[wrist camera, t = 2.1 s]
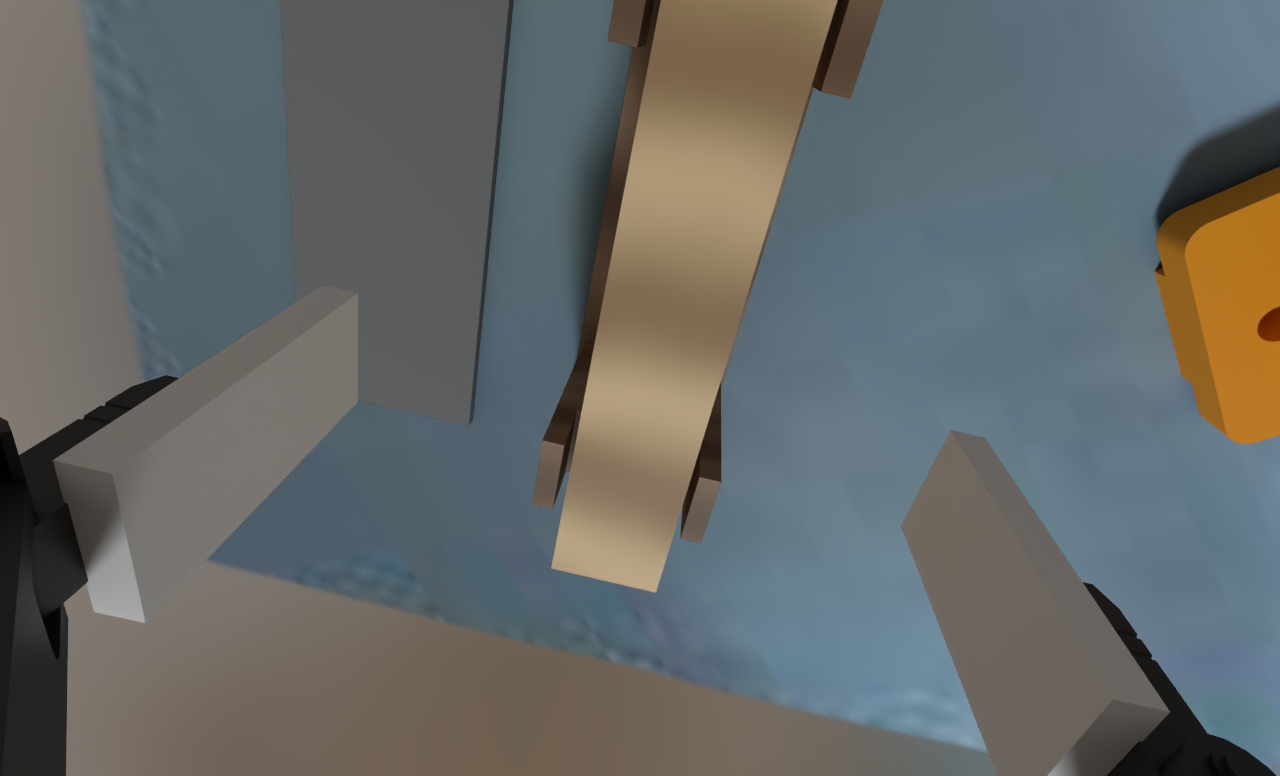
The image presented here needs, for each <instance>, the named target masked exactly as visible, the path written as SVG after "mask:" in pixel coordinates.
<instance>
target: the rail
mask: <svg viewBox="0 0 1280 776" xmlns="http://www.w3.org/2000/svg"><path fill="white" fill-rule="evenodd" d="M837 1H838V0H661V2H660V7H659V12H658V17H657V23H656V28H655V33H654V38H653V43H652V49H651V54H650V59H649V64H648V69H647V75H646V80H645V85H644V90H643V95H642V100H641V106H640V111H639V116H638V121H637V126H636V132H635V137H634V142H633V147H632V152H631V158H630V163H629V168H628V173H627V178H626V184H625V189H624V194H623V199H622V204H621V209H620V215H619V220H618V225H617V230H616V235H615V241H614V246H613V251H612V256H611V261H610V267H609V272H608V277H607V282H606V287H605V293H604V298H603V303H602V308H601V313H600V318H599V324H598V329H597V334H596V339H595V344H594V350H593V355H592V360H591V365H590V370H589V376H588V381H587V386H586V391H585V396H584V402H583V407H582V412H581V417H580V422H579V427H578V433H577V438H576V443H575V448H574V453H573V459H572V464H571V469H570V474H569V479H568V485H567V490H566V495H565V500H564V505H563V511H562V516H561V521H560V526H559V531H558V536H557V542H556V547H555V552H554V557H553V562H552V569H556V570H561V571H565V572H569V573H574V574H578V575H582V576H587V577H591V578H595V579H600V580H604V581H608V582H613V583H617V584H621V585H626V586H630V587H634V588H639V589H643V590H647V591H651V592H656V591H657V587H658V584H659V581H660V578H661V574H662V571H663V568H664V564H665V561H666V558H667V555H668V551H669V548H670V545H671V542H672V538H673V535H674V532H675V529H676V525H677V522H678V519H679V516H680V512H681V509H682V506H683V503H684V499H685V496H686V493H687V490H688V486H689V483H690V480H691V476H692V473H693V470H694V467H695V463H696V460H697V457H698V454H699V450H700V447H701V444H702V441H703V437H704V434H705V431H706V428H707V424H708V421H709V418H710V415H711V411H712V408H713V405H714V401H715V398H716V395H717V392H718V388H719V385H720V382H721V379H722V375H723V372H724V369H725V366H726V362H727V359H728V356H729V353H730V349H731V346H732V343H733V340H734V336H735V333H736V330H737V327H738V323H739V320H740V317H741V313H742V310H743V307H744V304H745V300H746V297H747V294H748V291H749V287H750V284H751V281H752V278H753V274H754V271H755V268H756V265H757V261H758V258H759V255H760V252H761V248H762V245H763V242H764V238H765V235H766V232H767V229H768V225H769V222H770V219H771V216H772V212H773V209H774V206H775V203H776V199H777V196H778V193H779V190H780V186H781V183H782V180H783V177H784V173H785V170H786V167H787V164H788V160H789V157H790V154H791V150H792V147H793V144H794V141H795V137H796V134H797V131H798V128H799V124H800V121H801V118H802V115H803V111H804V108H805V105H806V102H807V98H808V95H809V92H810V89H811V85H812V82H813V79H814V75H815V72H816V69H817V66H818V62H819V59H820V56H821V53H822V49H823V46H824V43H825V40H826V36H827V33H828V30H829V27H830V23H831V20H832V17H833V14H834V10H835V7H836V4H837Z"/></svg>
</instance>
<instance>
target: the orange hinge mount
mask: <svg viewBox="0 0 1280 776" xmlns="http://www.w3.org/2000/svg"><path fill="white" fill-rule="evenodd" d="M1157 246H1158V250H1159V254H1160V258H1161V262H1162V266H1163V268H1161V269H1159V270H1156V271H1155V274H1156V278H1157V282H1158V286H1159V290H1160V294H1161V298H1162V302H1163V305H1164V309H1165V313H1166V317H1167V321H1168V325H1169V329H1170V333H1171V337H1172V340H1173V344H1174V348H1175V352H1176V356H1177V360H1178V364H1179V368H1180V372H1181V375H1182V376H1183V377H1184V378H1185V379H1187V380H1188V381H1189V382H1191V383H1192V385H1193V389H1194V393H1195V397H1196V401H1197V405H1198V409H1199V412H1200V414H1201V416H1202V417H1204V418H1205V419H1206V420H1207V421H1209V422H1210V423H1211V424H1212V425H1214V426H1215V427H1216V428H1217V429H1219V430H1220V431H1221V432H1222V433H1223V434H1225V435H1226V436H1227V437H1228V438H1230V439H1231V440H1232V441H1234V442H1237V443H1241V444H1250V443H1255V442H1259V441H1262V440H1265V439H1268V438H1271V437H1274V436H1277V435H1280V167H1277V168H1275V169H1273V170H1270V171H1268V172H1266V173H1264V174H1261V175H1259V176H1257V177H1254V178H1252V179H1250V180H1247V181H1245V182H1243V183H1241V184H1238V185H1236V186H1234V187H1231V188H1229V189H1227V190H1224V191H1222V192H1220V193H1218V194H1215V195H1213V196H1211V197H1208V198H1206V199H1204V200H1201V201H1199V202H1197V203H1195V204H1192V205H1190V206H1188V207H1185V208H1183V209H1181V210H1179V211H1177V212H1175V213H1173V214H1172V215H1171V216H1169V217H1168V218H1167V219H1166V220H1165V221H1164V223H1163V224H1162V225H1161V227H1160V229H1159V231H1158V234H1157Z"/></svg>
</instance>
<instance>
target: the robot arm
mask: <svg viewBox="0 0 1280 776" xmlns="http://www.w3.org/2000/svg"><path fill="white" fill-rule="evenodd" d="M357 402H358V293H355V292H350V291H346V290H342V289H337V288H333V287H329V286H324V285H322V286H321V287H319V288H318V289H316V290H315V291H313V292H311V293H310V294H308V295H307V296H305V297H304V298H302V299H301V300H299V301H298V302H296V303H295V304H293V305H291V306H290V307H288V308H287V309H285V310H284V311H282V312H281V313H279V314H278V315H276V316H274V317H273V318H271V319H270V320H268V321H267V322H265V323H264V324H262V325H261V326H259V327H258V328H256V329H254V330H253V331H251V332H250V333H248V334H247V335H245V336H244V337H242V338H241V339H239V340H237V341H236V342H234V343H233V344H231V345H230V346H228V347H227V348H225V349H224V350H222V351H221V352H219V353H217V354H216V355H214V356H213V357H211V358H210V359H208V360H207V361H205V362H204V363H202V364H201V365H199V366H197V367H196V368H194V369H193V370H191V371H190V372H188V373H187V374H185V375H184V376H182V377H180V378H176V377H171V376H167V375H166V376H163V377H160V378H157V379H153V380H150V381H147V382H144V383H141V384H138V385H135V386H132V387H130V388H129V389H127V390H126V391H124V392H122V393H121V394H119V395H117V396H116V397H114V398H112V399H111V400H109V401H107V402H106V404H105V406H99V407H98V408H96V409H94V410H93V411H91V412H89V413H88V414H86V415H84V419H83V420H81V419H78V420H76V421H75V422H73V423H72V424H70V425H68V426H66V427H65V428H63V429H61V430H60V431H58V432H57V433H55V434H53V435H52V436H50V437H48V438H47V439H45V440H43V441H42V442H40V443H38V444H37V445H35V446H34V447H32V448H30V449H29V450H27V451H25V452H24V453H22V454H20V455H18V451H17V448H16V445H15V441H14V438H13V435H12V431H11V429H10V426H9V424H8V421H6V420H4V419H2V418H0V776H66V730H67V728H66V727H67V725H66V724H67V723H66V722H67V659H68V655H67V654H68V617H67V614H66V610H65V607H64V604H63V603H64V602H65V601H66V600H67V599H68V598H70V597H71V596H72V595H73V594H74V593H75V592H77V591H78V590H79V589H80V588H81V587H82V586H83V585H84V584H85V583H86V584H87V588H88V591H89V595H90V599H91V602H92V606H93V610H94V612H98V613H102V614H106V615H111V616H115V617H120V618H124V619H129V620H133V621H138V622H142V623H146V622H147V621H148V620H149V619H150V618H151V617H152V616H153V615H154V614H155V613H156V612H157V611H158V610H159V609H160V608H161V607H162V606H163V605H164V603H166V602H167V600H168V599H169V598H170V597H171V596H172V595H173V594H174V593H175V592H176V591H177V590H178V589H179V588H180V587H181V586H182V585H183V584H184V583H185V582H186V581H187V580H188V579H189V577H191V575H192V574H193V573H194V572H195V571H196V570H197V569H198V568H199V567H200V566H201V565H202V564H203V563H204V562H205V561H206V560H207V559H208V558H209V557H210V556H211V555H212V554H213V553H214V551H215V550H216V549H217V548H218V547H219V546H220V545H221V544H222V543H223V542H224V541H225V540H226V539H227V538H228V537H229V536H230V535H231V534H232V533H233V532H234V531H235V530H236V529H237V527H238V526H239V525H240V524H241V523H242V522H243V521H244V520H245V519H246V518H247V517H248V516H249V515H250V514H251V513H252V512H253V511H254V510H255V509H256V508H257V507H258V506H259V505H260V503H261V502H262V501H263V500H264V499H265V498H266V497H267V496H268V495H269V494H270V493H271V492H272V491H273V490H274V489H275V488H276V487H277V486H278V485H279V484H280V483H281V482H282V481H283V479H284V478H285V477H286V476H287V475H288V474H289V473H290V472H291V471H292V470H293V469H294V468H295V467H296V466H297V465H298V464H299V463H300V462H301V461H302V460H303V459H304V458H305V457H306V455H307V454H308V453H309V452H310V451H311V450H312V449H313V448H314V447H315V446H316V445H317V444H318V443H319V442H320V441H321V440H322V439H323V438H324V437H325V436H326V435H327V434H328V433H329V431H330V430H331V429H332V428H333V427H334V426H335V425H336V424H337V423H338V422H339V421H340V420H341V419H342V418H343V417H344V416H345V415H346V414H347V413H348V412H349V411H350V410H351V409H352V407H353V406H354V405H355V404H356V403H357ZM901 527H902V530H903V532H904V535H905V537H906V540H907V543H908V545H909V548H910V550H911V553H912V556H913V558H914V561H915V563H916V566H917V569H918V571H919V574H920V576H921V579H922V582H923V584H924V587H925V589H926V592H927V595H928V597H929V600H930V602H931V605H932V608H933V610H934V613H935V615H936V618H937V620H938V623H939V626H940V628H941V631H942V633H943V636H944V639H945V641H946V644H947V646H948V649H949V652H950V654H951V657H952V659H953V662H954V665H955V667H956V670H957V672H958V675H959V678H960V680H961V683H962V685H963V688H964V691H965V693H966V696H967V698H968V701H969V704H970V706H971V709H972V711H973V714H974V717H975V719H976V722H977V724H978V727H979V729H980V732H981V735H982V737H983V740H984V742H985V745H986V748H987V750H988V753H989V755H990V758H991V761H992V763H993V766H994V768H995V770H996V773H997V776H1276V775H1275V774H1274V773H1273V772H1272V771H1271V770H1270V769H1269V768H1268V767H1267V766H1266V765H1264V764H1263V763H1262V762H1260V761H1259V760H1258V759H1256V758H1255V757H1254V756H1252V755H1251V754H1250V753H1248V752H1247V751H1246V750H1244V749H1242V748H1240V747H1238V746H1236V745H1235V744H1233V743H1231V742H1229V741H1227V740H1225V739H1223V738H1220V737H1216V736H1213V735H1210V734H1207V732H1206V731H1205V729H1204V728H1203V726H1202V725H1201V724H1200V722H1199V721H1198V719H1197V718H1196V717H1195V715H1194V714H1193V712H1192V711H1191V710H1190V708H1189V707H1188V705H1187V704H1186V703H1185V701H1184V700H1183V698H1182V697H1181V695H1180V694H1179V693H1178V691H1177V690H1176V688H1175V687H1174V686H1173V684H1172V683H1171V681H1170V680H1169V679H1168V677H1167V676H1166V674H1165V673H1164V671H1163V670H1162V669H1161V667H1160V666H1159V664H1158V663H1157V662H1156V661H1155V660H1152V659H1151V657H1152V655H1151V653H1150V652H1149V650H1148V649H1147V647H1146V646H1145V645H1144V643H1143V642H1142V640H1141V639H1137V633H1136V632H1135V631H1134V629H1133V628H1132V626H1131V625H1130V623H1129V622H1128V621H1127V619H1126V618H1125V616H1124V615H1123V614H1122V612H1121V611H1120V609H1119V608H1118V607H1117V606H1115V605H1114V604H1113V603H1112V602H1111V601H1110V600H1109V599H1108V598H1107V597H1106V596H1105V595H1103V594H1102V593H1101V592H1100V591H1099V590H1098V589H1097V588H1096V587H1095V586H1094V585H1093V584H1088V583H1084V582H1082V581H1081V579H1080V578H1079V576H1078V575H1077V573H1076V572H1075V570H1074V569H1073V567H1072V566H1071V564H1070V563H1069V562H1068V560H1067V559H1066V557H1065V556H1064V554H1063V553H1062V551H1061V550H1060V548H1059V547H1058V545H1057V544H1056V542H1055V541H1054V539H1053V538H1052V536H1051V535H1050V533H1049V532H1048V530H1047V529H1046V528H1045V526H1044V525H1043V523H1042V522H1041V520H1040V519H1039V517H1038V516H1037V514H1036V513H1035V511H1034V510H1033V508H1032V507H1031V505H1030V504H1029V502H1028V501H1027V499H1026V498H1025V496H1024V495H1023V494H1022V492H1021V491H1020V489H1019V488H1018V486H1017V485H1016V483H1015V482H1014V480H1013V479H1012V477H1011V476H1010V474H1009V473H1008V471H1007V470H1006V468H1005V467H1004V465H1003V464H1002V462H1001V461H1000V459H999V458H998V457H997V455H996V454H995V452H994V451H993V449H992V448H991V446H990V445H989V443H988V442H987V440H986V439H985V438H983V437H979V436H974V435H970V434H966V433H961V432H957V431H953V430H951V431H950V433H949V435H948V436H947V438H946V440H945V442H944V444H943V446H942V448H941V450H940V452H939V454H938V456H937V458H936V460H935V462H934V463H933V465H932V467H931V469H930V471H929V473H928V475H927V477H926V479H925V481H924V483H923V485H922V487H921V488H920V490H919V492H918V494H917V496H916V498H915V500H914V502H913V504H912V506H911V508H910V510H909V512H908V514H907V515H906V517H905V519H904V521H903V523H902V525H901Z"/></svg>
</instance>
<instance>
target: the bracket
mask: <svg viewBox="0 0 1280 776" xmlns="http://www.w3.org/2000/svg"><path fill="white" fill-rule="evenodd" d="M660 2H661V0H614V4H613V10H612V17H611V23H610V29H609V35H608V41H611V42H615V43H619V44H623V45H627V46H632V47H633V52H632V57H631V63H630V68H629V74H628V80H627V85H626V91H625V96H624V102H623V107H622V113H621V118H620V124H619V129H618V135H617V141H616V146H615V152H614V157H613V163H612V168H611V174H610V179H609V185H608V190H607V196H606V202H605V207H604V213H603V218H602V224H601V229H600V235H599V240H598V246H597V251H596V257H595V262H594V268H593V274H592V279H591V285H590V290H589V296H588V301H587V307H586V312H585V318H584V323H583V329H582V335H581V340H580V346H579V351H578V357H577V361H576V363H575V366H574V368H573V370H572V373H571V375H570V377H569V380H568V382H567V384H566V387H565V389H564V391H563V394H562V396H561V398H560V401H559V403H558V405H557V408H556V410H555V413H554V415H553V417H552V420H551V422H550V424H549V427H548V429H547V431H546V434H545V436H544V438H543V441H542V447H541V453H540V460H539V466H538V472H537V478H536V484H535V490H534V496H533V503H532V504H533V505H537V506H542V507H546V508H550V509H553V507H554V504H555V501H556V498H557V495H558V492H559V489H560V486H561V483H562V481H563V478H564V475H565V472H566V471H569V472H570V469H571V464H572V459H573V453H574V448H575V443H576V438H577V433H578V427H579V422H580V417H581V412H582V407H583V402H584V396H585V391H586V386H587V381H588V376H589V370H590V365H591V360H592V355H593V350H594V344H595V339H596V334H597V329H598V324H599V318H600V313H601V308H602V303H603V298H604V293H605V287H606V282H607V277H608V272H609V267H610V261H611V256H612V251H613V246H614V241H615V235H616V230H617V225H618V220H619V215H620V209H621V204H622V199H623V194H624V189H625V184H626V178H627V173H628V168H629V163H630V158H631V152H632V147H633V142H634V137H635V132H636V126H637V121H638V116H639V111H640V106H641V100H642V95H643V90H644V85H645V80H646V75H647V69H648V64H649V59H650V54H651V49H652V43H653V38H654V33H655V28H656V23H657V17H658V12H659V7H660ZM882 3H883V0H838V1H837V4H836V7H835V10H834V14H833V17H832V20H831V23H830V27H829V30H828V33H827V36H826V40H825V43H824V46H823V49H822V53H821V56H820V59H819V62H818V66H817V69H816V72H815V75H814V79H813V82H812V85H811V89H810V92H809V95H808V98H807V102H806V105H805V108H804V111H803V115H802V118H801V121H800V124H799V128H798V131H797V134H796V137H795V141H794V144H793V147H792V150H791V154H790V157H789V160H788V164H787V167H786V170H785V173H784V177H783V180H782V183H781V186H780V190H779V193H778V196H777V199H776V203H775V206H774V209H773V212H772V216H771V219H770V222H769V225H768V229H767V232H766V235H765V238H764V242H763V245H762V248H761V252H760V255H759V258H758V261H757V265H756V268H755V271H754V274H753V278H752V281H751V284H750V287H749V291H748V294H747V297H746V300H745V304H744V307H743V310H742V313H741V317H740V320H739V323H738V327H737V330H736V333H735V336H734V340H733V343H732V346H731V349H730V353H729V356H728V359H727V362H726V366H725V369H724V372H723V375H722V379H721V382H720V385H719V388H718V392H717V395H716V398H715V401H714V405H713V408H712V411H711V415H710V418H709V421H708V424H707V428H706V431H705V434H704V437H703V441H702V444H701V447H700V450H699V454H698V457H697V460H696V463H695V467H694V470H693V473H692V476H691V480H690V483H689V486H688V490H687V493H686V496H685V499H684V503H683V510H682V523H681V537H680V539H684V540H688V541H692V542H697V543H701V541H702V538H703V535H704V532H705V529H706V526H707V523H708V520H709V517H710V514H711V511H712V508H713V505H714V502H715V500H716V497H717V494H718V491H719V488H720V485H721V386H722V383H723V380H724V376H725V373H726V370H727V367H728V363H729V360H730V357H731V354H732V350H733V347H734V344H735V341H736V337H737V334H738V331H739V328H740V325H741V321H742V318H743V315H744V312H745V308H746V305H747V302H748V299H749V295H750V292H751V289H752V286H753V282H754V279H755V276H756V273H757V269H758V266H759V263H760V260H761V256H762V253H763V250H764V247H765V244H766V240H767V237H768V234H769V231H770V227H771V224H772V221H773V218H774V214H775V211H776V208H777V205H778V201H779V198H780V195H781V192H782V188H783V185H784V182H785V179H786V175H787V172H788V169H789V166H790V163H791V159H792V156H793V153H794V150H795V146H796V143H797V140H798V137H799V133H800V130H801V127H802V124H803V120H804V117H805V114H806V111H807V107H808V104H809V101H810V98H811V95H812V91H813V88H816V89H818V90H819V91H821V92H824V93H829V94H833V95H837V96H841V97H845V98H851V95H852V92H853V89H854V86H855V83H856V80H857V77H858V74H859V71H860V68H861V65H862V62H863V59H864V57H865V54H866V51H867V48H868V45H869V42H870V39H871V36H872V33H873V30H874V27H875V24H876V21H877V18H878V15H879V12H880V9H881V6H882Z"/></svg>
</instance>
